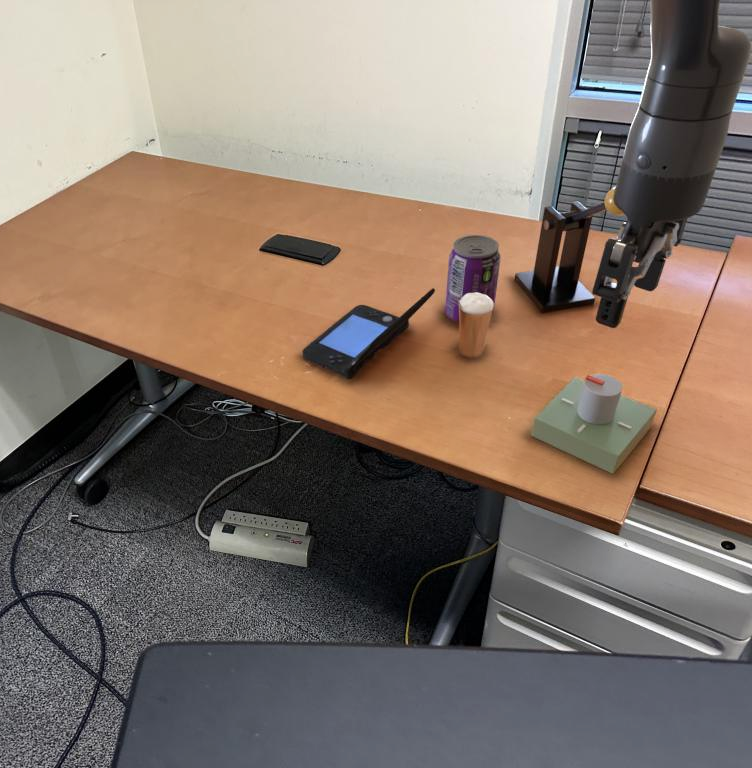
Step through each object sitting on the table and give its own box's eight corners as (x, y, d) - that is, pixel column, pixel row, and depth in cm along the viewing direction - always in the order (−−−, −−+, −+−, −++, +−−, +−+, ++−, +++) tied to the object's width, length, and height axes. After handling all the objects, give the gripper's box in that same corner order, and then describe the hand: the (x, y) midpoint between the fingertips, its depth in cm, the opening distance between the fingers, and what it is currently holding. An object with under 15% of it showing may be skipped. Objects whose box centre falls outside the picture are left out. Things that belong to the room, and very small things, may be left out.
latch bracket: (593, 304, 103) (614, 221, 95) (541, 313, 103) (557, 230, 94) (562, 271, 111) (578, 191, 102) (514, 279, 111) (526, 200, 102)
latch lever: (645, 209, 84) (641, 179, 84) (616, 214, 84) (612, 184, 84) (575, 233, 101) (571, 209, 101) (551, 237, 101) (547, 213, 101)
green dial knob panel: (650, 427, 83) (657, 408, 81) (612, 474, 78) (619, 455, 76) (570, 394, 89) (574, 375, 87) (530, 435, 85) (534, 417, 83)
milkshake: (443, 348, 100) (447, 290, 93) (475, 338, 101) (482, 279, 94) (460, 365, 96) (466, 306, 90) (494, 355, 97) (502, 295, 91)
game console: (359, 309, 110) (359, 260, 104) (435, 337, 102) (439, 285, 96) (298, 359, 102) (293, 308, 96) (374, 393, 94) (375, 340, 88)
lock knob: (620, 411, 82) (629, 380, 79) (604, 429, 80) (613, 398, 77) (586, 397, 84) (594, 367, 81) (570, 415, 82) (578, 384, 79)
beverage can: (495, 327, 102) (505, 257, 94) (445, 328, 103) (451, 258, 96) (490, 301, 107) (499, 232, 100) (443, 302, 109) (448, 233, 101)
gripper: (680, 197, 56) (631, 351, 67) (746, 138, 63) (692, 287, 73) (590, 176, 61) (557, 324, 71) (661, 123, 68) (621, 266, 78)
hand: (626, 305), depth 72 cm, fingers open, 8 cm apart
